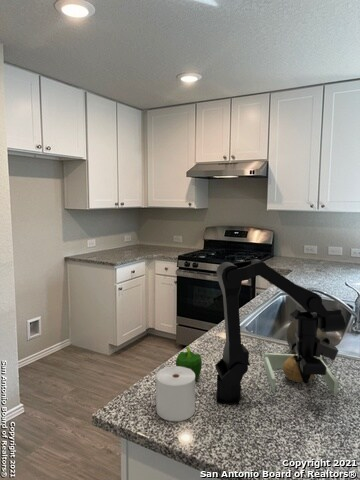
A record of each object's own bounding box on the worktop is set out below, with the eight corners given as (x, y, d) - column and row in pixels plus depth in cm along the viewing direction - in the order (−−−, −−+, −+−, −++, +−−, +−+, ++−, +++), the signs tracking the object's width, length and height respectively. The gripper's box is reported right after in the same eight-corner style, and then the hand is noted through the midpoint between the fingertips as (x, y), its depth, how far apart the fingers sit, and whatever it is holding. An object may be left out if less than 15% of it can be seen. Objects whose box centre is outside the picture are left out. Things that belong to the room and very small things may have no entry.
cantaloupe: (282, 360, 125) (283, 320, 123) (289, 346, 137) (290, 309, 135) (324, 368, 118) (326, 326, 117) (327, 353, 130) (329, 314, 129)
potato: (323, 375, 113) (323, 351, 112) (307, 393, 102) (307, 367, 101) (294, 367, 119) (294, 345, 118) (276, 383, 109) (276, 358, 108)
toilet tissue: (183, 427, 87) (183, 389, 86) (144, 412, 93) (144, 377, 92) (201, 405, 96) (201, 371, 95) (165, 394, 102) (165, 361, 101)
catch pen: (271, 391, 103) (272, 375, 103) (264, 366, 119) (264, 353, 119) (337, 395, 102) (338, 379, 101) (320, 369, 117) (321, 355, 117)
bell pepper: (199, 386, 106) (200, 355, 105) (173, 384, 108) (173, 353, 107) (203, 373, 114) (203, 345, 113) (179, 371, 116) (179, 342, 115)
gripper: (347, 346, 91) (345, 402, 92) (325, 322, 109) (323, 370, 110) (304, 344, 92) (302, 400, 93) (289, 321, 110) (288, 368, 112)
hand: (305, 383), depth 102 cm, fingers closed
